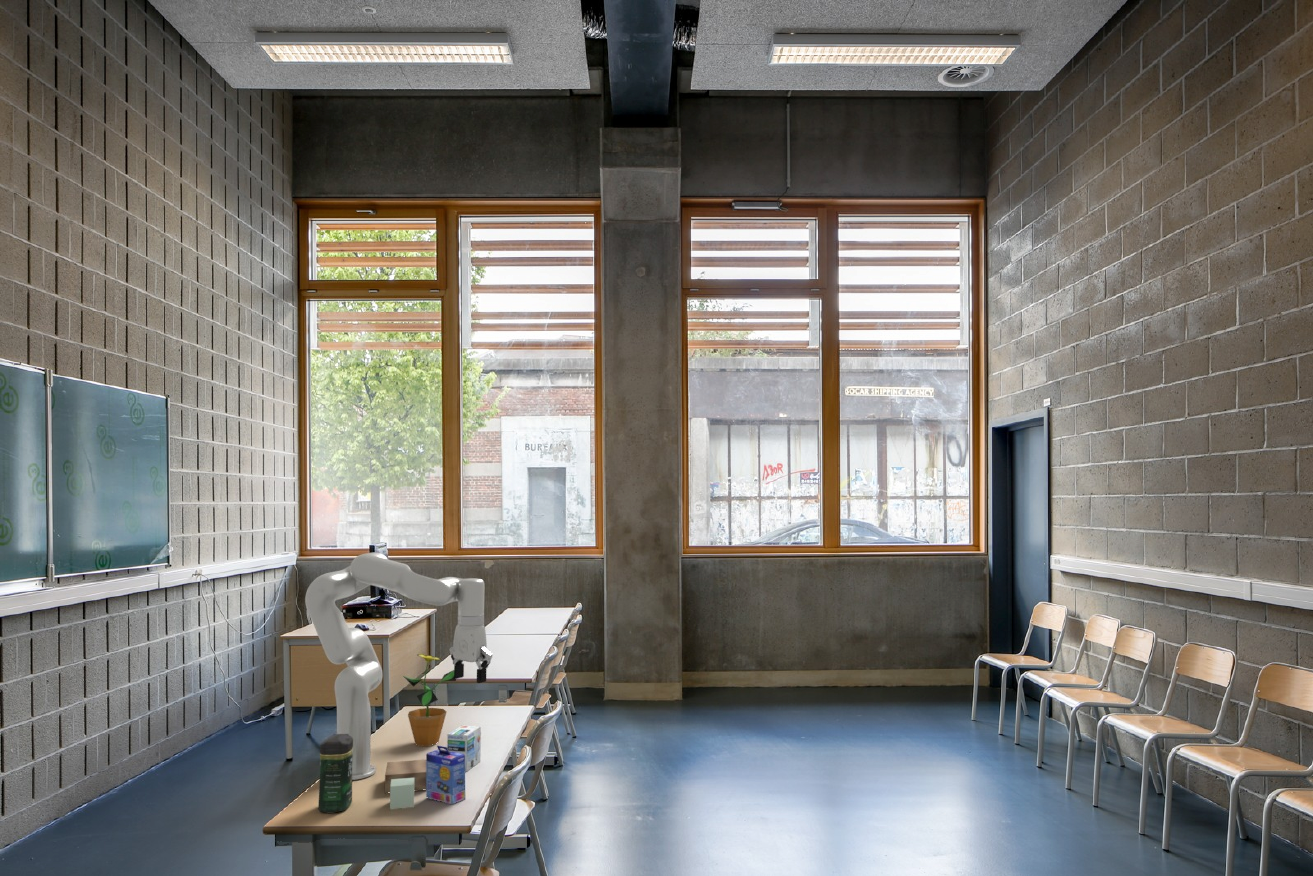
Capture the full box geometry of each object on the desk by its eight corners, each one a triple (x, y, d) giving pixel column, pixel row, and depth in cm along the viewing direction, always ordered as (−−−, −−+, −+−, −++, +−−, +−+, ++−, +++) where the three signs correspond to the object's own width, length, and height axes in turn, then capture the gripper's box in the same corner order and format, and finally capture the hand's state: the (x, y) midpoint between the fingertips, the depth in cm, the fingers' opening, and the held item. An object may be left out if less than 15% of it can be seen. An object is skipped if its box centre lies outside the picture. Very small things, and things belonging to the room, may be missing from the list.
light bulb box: (467, 772, 268) (467, 735, 269) (446, 771, 269) (446, 734, 270) (481, 761, 278) (481, 726, 279) (460, 760, 280) (461, 724, 280)
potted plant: (448, 751, 289) (449, 656, 291) (390, 751, 290) (391, 656, 291) (462, 735, 307) (462, 646, 309) (407, 735, 308) (408, 646, 309)
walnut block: (384, 793, 249) (385, 775, 250) (387, 780, 261) (387, 762, 261) (429, 790, 252) (429, 771, 252) (429, 776, 264) (430, 759, 264)
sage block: (390, 809, 237) (390, 786, 237) (391, 802, 243) (391, 779, 243) (413, 807, 239) (413, 784, 239) (414, 800, 244) (414, 777, 245)
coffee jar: (346, 813, 234) (347, 741, 235) (315, 814, 234) (316, 741, 235) (355, 800, 244) (356, 731, 245) (325, 801, 243) (326, 731, 244)
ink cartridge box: (424, 799, 245) (425, 744, 246) (439, 793, 250) (439, 739, 251) (451, 805, 240) (452, 750, 241) (466, 799, 245) (466, 744, 246)
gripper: (441, 619, 267) (440, 678, 266) (481, 625, 257) (480, 686, 256) (461, 617, 273) (460, 674, 272) (501, 622, 263) (500, 682, 262)
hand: (470, 680), depth 264 cm, fingers open, 9 cm apart
